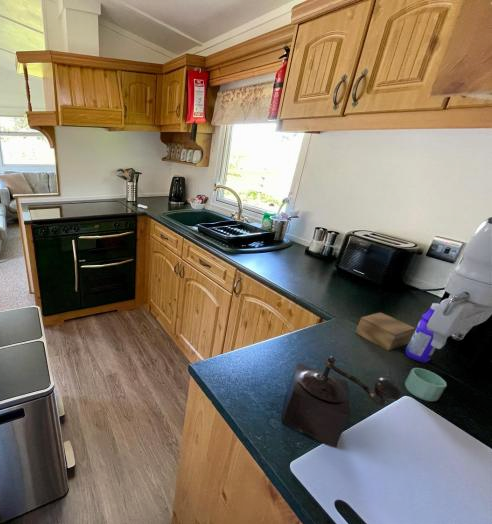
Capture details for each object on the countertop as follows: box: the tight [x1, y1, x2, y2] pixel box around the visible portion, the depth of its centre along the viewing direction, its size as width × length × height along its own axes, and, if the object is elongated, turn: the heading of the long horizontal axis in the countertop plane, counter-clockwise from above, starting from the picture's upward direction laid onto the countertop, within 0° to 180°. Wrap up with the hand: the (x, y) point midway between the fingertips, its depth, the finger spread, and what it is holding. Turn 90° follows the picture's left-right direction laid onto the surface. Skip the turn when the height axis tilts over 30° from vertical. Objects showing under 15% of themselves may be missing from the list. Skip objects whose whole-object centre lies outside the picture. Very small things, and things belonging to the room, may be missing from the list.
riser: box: [354, 311, 416, 352], centre depth 94 cm, size 10×11×6 cm
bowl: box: [404, 367, 448, 402], centre depth 72 cm, size 6×6×5 cm
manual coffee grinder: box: [280, 355, 402, 448], centre depth 59 cm, size 16×11×18 cm
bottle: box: [404, 302, 440, 364], centre depth 84 cm, size 7×6×17 cm
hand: (446, 342), depth 68 cm, fingers open, 8 cm apart
